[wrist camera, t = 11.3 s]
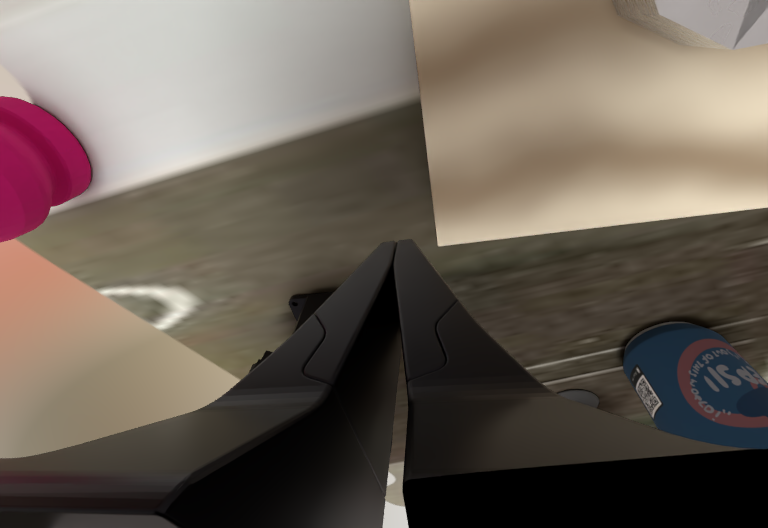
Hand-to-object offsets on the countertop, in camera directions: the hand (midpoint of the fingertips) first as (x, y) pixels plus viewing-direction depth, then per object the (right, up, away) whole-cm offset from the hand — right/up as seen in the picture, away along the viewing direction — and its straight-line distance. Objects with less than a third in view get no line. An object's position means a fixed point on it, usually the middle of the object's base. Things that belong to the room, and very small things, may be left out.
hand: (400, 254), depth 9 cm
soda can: (+22, -7, +18) cm, 30 cm away
